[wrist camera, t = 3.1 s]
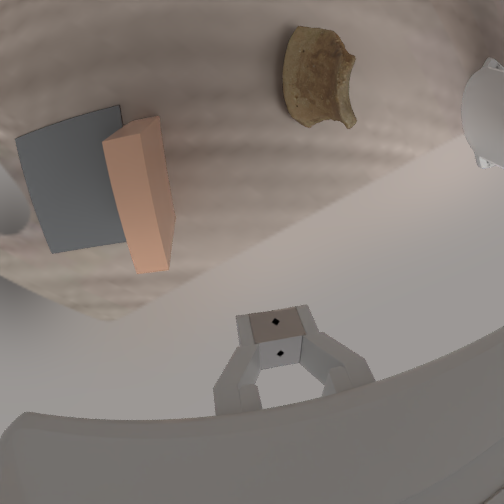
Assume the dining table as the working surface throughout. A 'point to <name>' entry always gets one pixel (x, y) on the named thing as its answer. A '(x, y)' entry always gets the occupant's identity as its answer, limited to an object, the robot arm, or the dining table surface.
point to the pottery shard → (317, 77)
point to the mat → (73, 181)
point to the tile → (142, 192)
